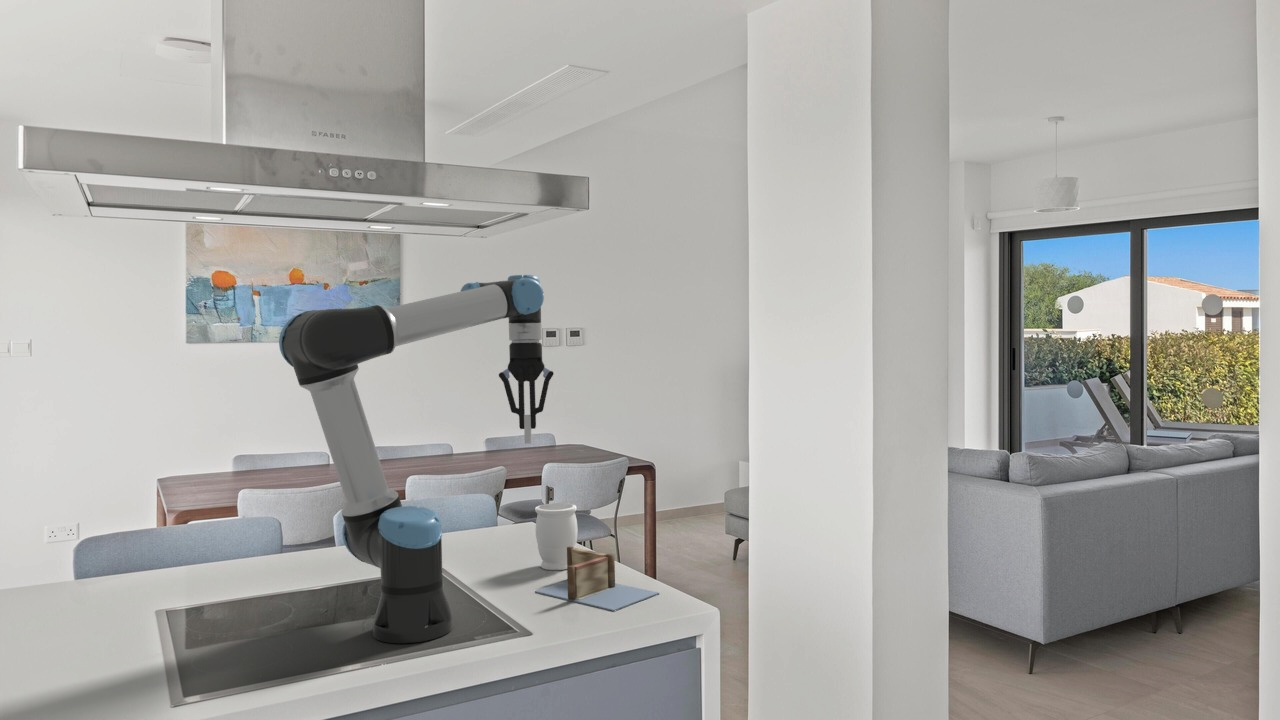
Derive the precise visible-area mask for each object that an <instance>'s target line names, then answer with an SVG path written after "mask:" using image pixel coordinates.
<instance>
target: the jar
mask: <svg viewBox="0 0 1280 720" xmlns="http://www.w3.org/2000/svg"><path fill="white" fill-rule="evenodd" d="M577 506H578V505H577V504H572V503H567V502H566V503H565V502H564V503H563V502H556V503H555V502H554V503H553V502H552V503H545V504H540V505H538V506H536V507H535V509H534V510H535V513H536V515H537V517H536V520H535V538H536V543H537V549H538V554H539V556H540V559H541V560H542V562H541V563H540V568H542V569H543V570H547V571H563V570H564V571H565V570H567V547H574V548H577V542H578V533H579V531H578V520H577V516H576V511H578V507H577Z"/></svg>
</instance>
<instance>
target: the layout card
mask: <svg viewBox="0 0 1280 720" xmlns="http://www.w3.org/2000/svg"><path fill="white" fill-rule="evenodd" d="M535 594H540V595H545V596H548V597H553V598H557V599H562V600H564V601H565V600H566V601H570V602H573V603H576V604H577V603H578V604H582V605H585V604H586V606H589V605H590V607H594V608H598V607H599V609H602V608H603V609H602V610H606V609H608V610H607V611H610V610H613V611H612V612H616V611H615V610H617V611H619V610H621V609H620V608H622V609H624V608H627V607H629V606H628V605H630V606H632V605H634V604H633V603H635V604H637V603H640V602H643V601H645V600H648V599H650V598H653V597H656V596H658V595H660V592H658V591H653V590H648V589H643V588H639V587H634V586H631V585H630V586H629V585H625V584H621V583H620V584H619V583H616V582H615V587H613V588H608V587H607V588H604V589H601V590H598V591H595V592H593V593H590V594H587V595H584V596H581V597H578V598H576V597H575V599H572V600H570V599H568V580H566V581H562V582H559V583H556V584H553V585H549V586H546V587H544V588H541V589H537V590H535ZM642 600H643V601H642ZM639 601H640V602H639ZM636 602H637V603H636ZM631 604H632V605H631ZM626 606H627V607H626ZM623 607H624V608H623ZM618 609H619V610H618Z"/></svg>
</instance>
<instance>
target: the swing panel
mask: <svg viewBox="0 0 1280 720" xmlns="http://www.w3.org/2000/svg"><path fill="white" fill-rule="evenodd" d="M566 570H567V571H566V574H567V580H566V581H568V599H570V600H572V599H575V597H576V598H578V597H581V596H584V595H587V594H590V593H593V592H595V591H598V590H601V589H604V588H607V587H608V557H600V558H597V559H593V560H590V561H587V562H583V563H580V564H577V565H573V566H567V569H566Z"/></svg>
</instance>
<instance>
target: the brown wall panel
mask: <svg viewBox="0 0 1280 720" xmlns="http://www.w3.org/2000/svg"><path fill="white" fill-rule="evenodd" d="M600 557H608V588H613V587H615V583H616V567H615V566H616V565H615V561H616V560H615V553H604V552H599V551H593V550H589V549H588V550H587V549H583V548H577V547H576V548H574V547H567V566H573V565H577V564H580V563H583V562H587V561H590V560H593V559H597V558H600Z"/></svg>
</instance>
